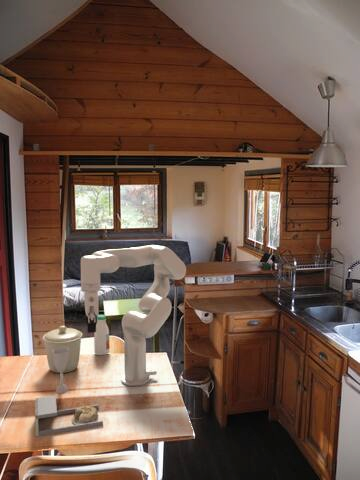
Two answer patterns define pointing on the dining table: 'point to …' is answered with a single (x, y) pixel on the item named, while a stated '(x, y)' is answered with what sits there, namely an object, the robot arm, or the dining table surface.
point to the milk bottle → (101, 336)
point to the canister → (63, 339)
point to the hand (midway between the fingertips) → (91, 328)
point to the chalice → (61, 365)
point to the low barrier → (49, 408)
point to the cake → (85, 415)
